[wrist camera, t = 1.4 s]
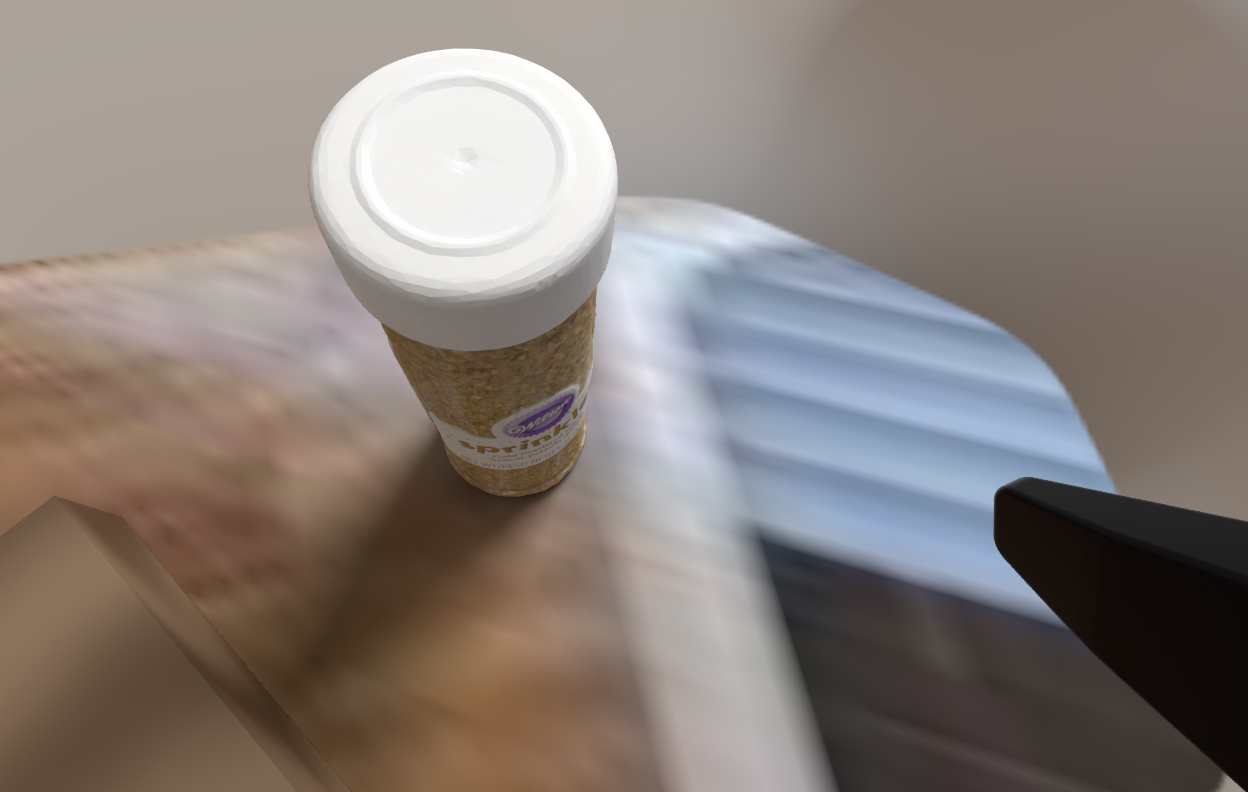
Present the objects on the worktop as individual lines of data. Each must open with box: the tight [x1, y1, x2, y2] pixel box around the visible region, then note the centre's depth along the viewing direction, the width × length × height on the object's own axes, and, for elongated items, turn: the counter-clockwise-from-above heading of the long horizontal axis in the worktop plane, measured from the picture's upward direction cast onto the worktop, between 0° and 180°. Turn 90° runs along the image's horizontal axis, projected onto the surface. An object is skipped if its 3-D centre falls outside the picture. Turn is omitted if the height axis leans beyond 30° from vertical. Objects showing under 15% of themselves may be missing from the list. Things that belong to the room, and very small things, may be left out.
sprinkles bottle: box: [309, 49, 618, 497], centre depth 17 cm, size 5×5×14 cm
